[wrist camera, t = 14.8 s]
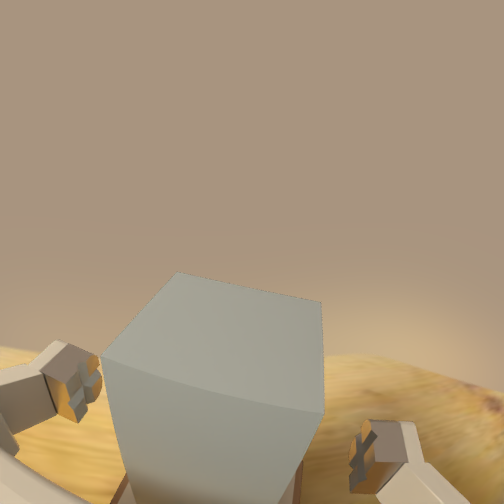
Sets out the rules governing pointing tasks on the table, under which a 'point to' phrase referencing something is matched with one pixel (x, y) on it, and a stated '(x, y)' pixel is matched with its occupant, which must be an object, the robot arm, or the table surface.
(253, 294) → the grey tall block
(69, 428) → the table surface
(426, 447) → the table surface
